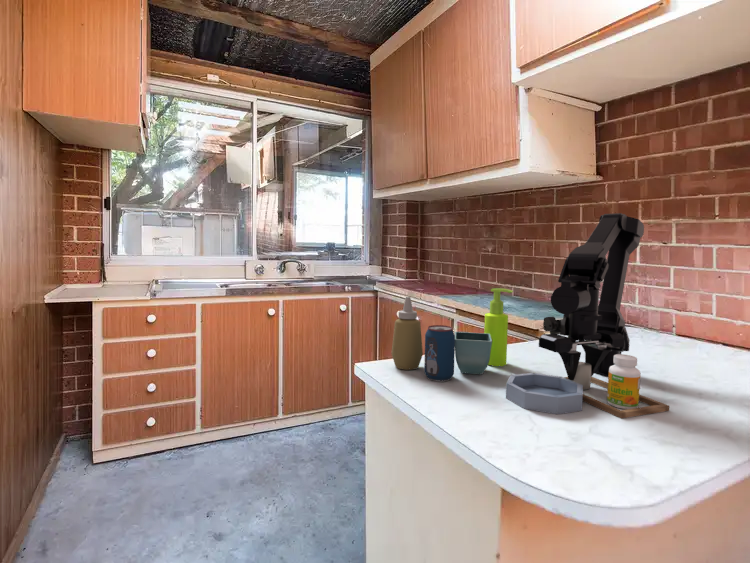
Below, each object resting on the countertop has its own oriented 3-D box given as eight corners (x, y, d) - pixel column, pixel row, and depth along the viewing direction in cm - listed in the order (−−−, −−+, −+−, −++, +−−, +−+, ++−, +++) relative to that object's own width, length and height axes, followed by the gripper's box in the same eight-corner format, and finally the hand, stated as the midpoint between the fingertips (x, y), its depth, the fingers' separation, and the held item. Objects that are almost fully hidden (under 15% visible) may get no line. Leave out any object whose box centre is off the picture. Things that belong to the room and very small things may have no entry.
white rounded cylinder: (579, 382, 96) (580, 360, 96) (595, 388, 92) (596, 366, 92) (563, 383, 95) (565, 362, 94) (579, 390, 91) (580, 367, 90)
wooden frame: (586, 378, 99) (586, 374, 99) (669, 410, 80) (669, 405, 80) (544, 383, 95) (544, 379, 95) (621, 418, 76) (621, 413, 76)
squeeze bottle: (389, 362, 111) (390, 295, 109) (419, 362, 112) (420, 295, 110) (393, 372, 103) (394, 299, 101) (425, 371, 104) (427, 299, 102)
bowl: (547, 385, 94) (548, 371, 94) (598, 408, 81) (599, 392, 81) (494, 391, 90) (494, 376, 90) (538, 416, 77) (539, 399, 76)
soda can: (453, 373, 102) (454, 325, 101) (454, 383, 95) (455, 331, 94) (424, 372, 103) (425, 324, 102) (423, 381, 96) (424, 329, 95)
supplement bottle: (605, 406, 82) (608, 357, 81) (608, 397, 87) (610, 351, 86) (637, 412, 79) (641, 362, 78) (639, 403, 84) (642, 355, 83)
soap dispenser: (506, 368, 107) (509, 290, 105) (480, 364, 110) (482, 288, 109) (512, 363, 112) (515, 288, 110) (487, 359, 115) (489, 286, 114)
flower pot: (491, 378, 99) (492, 340, 98) (453, 375, 101) (454, 338, 100) (488, 367, 108) (489, 333, 107) (453, 365, 109) (454, 331, 108)
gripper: (587, 302, 102) (584, 365, 104) (523, 305, 97) (521, 372, 98) (628, 309, 92) (623, 379, 93) (559, 313, 86) (555, 387, 87)
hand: (579, 378), depth 93 cm, fingers closed on white rounded cylinder, 4 cm apart
